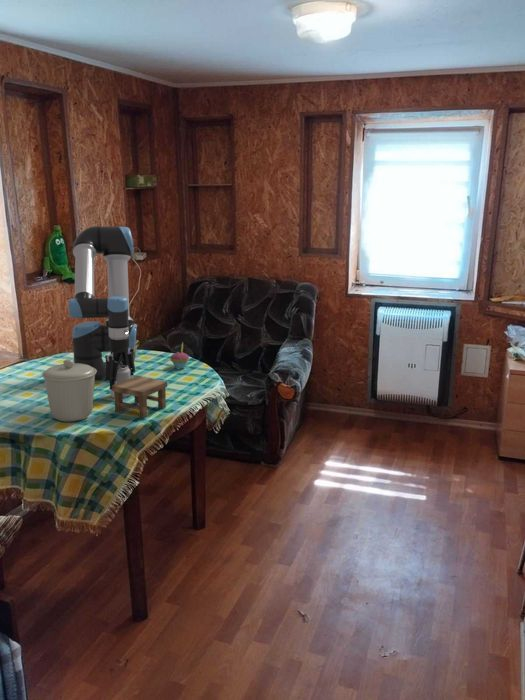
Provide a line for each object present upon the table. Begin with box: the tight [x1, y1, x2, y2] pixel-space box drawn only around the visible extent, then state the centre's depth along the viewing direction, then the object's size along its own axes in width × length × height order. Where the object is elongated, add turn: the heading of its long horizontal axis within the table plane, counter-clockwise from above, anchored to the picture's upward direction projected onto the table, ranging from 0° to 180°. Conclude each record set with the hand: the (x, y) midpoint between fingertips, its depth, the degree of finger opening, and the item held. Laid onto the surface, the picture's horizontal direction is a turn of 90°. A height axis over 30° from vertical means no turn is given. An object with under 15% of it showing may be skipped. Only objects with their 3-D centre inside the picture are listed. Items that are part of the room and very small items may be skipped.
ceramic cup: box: [120, 339, 140, 364], centre depth 273 cm, size 13×10×10 cm
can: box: [112, 364, 130, 399], centre depth 226 cm, size 8×8×12 cm
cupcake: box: [169, 342, 190, 369], centre depth 265 cm, size 9×8×12 cm
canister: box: [41, 358, 97, 423], centre depth 202 cm, size 18×18×21 cm
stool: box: [112, 375, 168, 419], centre depth 212 cm, size 14×14×10 cm
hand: (121, 394), depth 227 cm, fingers closed on can, 7 cm apart
